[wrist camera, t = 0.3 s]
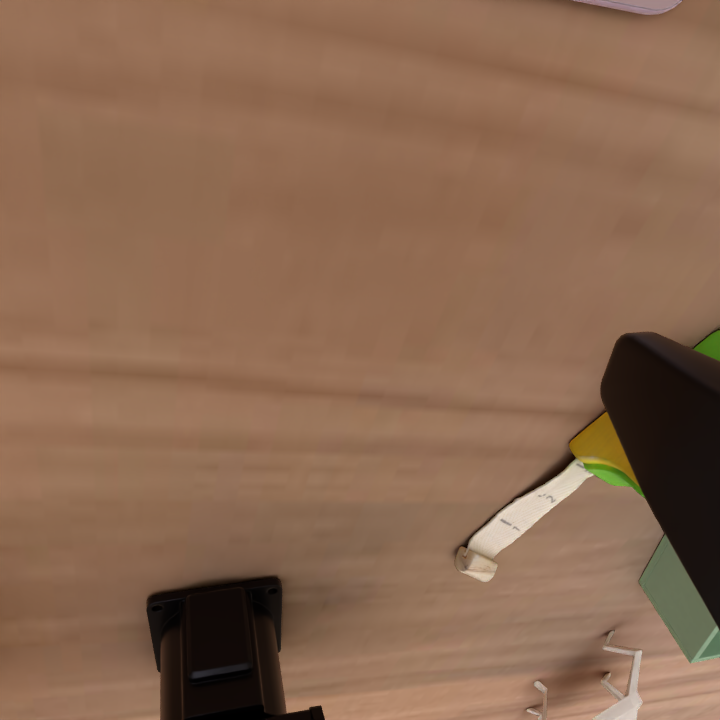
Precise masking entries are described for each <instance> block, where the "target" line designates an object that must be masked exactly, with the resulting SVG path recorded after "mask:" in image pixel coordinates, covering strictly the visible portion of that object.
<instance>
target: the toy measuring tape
mask: <svg viewBox="0 0 720 720" xmlns="http://www.w3.org/2000/svg"><path fill="white" fill-rule="evenodd" d="M693 350H696V351H698V352H700V353H702V354H705V355H707V356H709V357H712V358H714V359H716V360H718V361H720V330H718V331H716V332H714V333H712V334H711V335H709V336H708V337H707V338H706V339H705V340H704V341H702V342H701V343H700V344H698V345H697V346H696V347H695V348H694V349H693ZM569 447H570V450H571V452H572V453H573V454H574V456H575V457H576V459H575V460H574V461H573V462H571V463H570V464H569V465H568V466H567V467H566V468H565V470H564V471H563V472H561V473H560V474H559V475H557V476H556V477H554V478H552V479H551V480H550V481H548V482H547V483H545V484H544V485H542V486H540V487H538V488H536V489H535V490H533V491H531V492H529V493H527V494H525V495H524V496H522V497H520V498H515V499H514V500H515V501H514V502H512V503H511V504H509V505H507V506H506V507H505V508H504V509H502V510H501V511H500V512H498V513H497V514H496V516H495V517H493V518H492V519H491V520H490V521H489V522H488V523H487V524H486V525H485V526H483V527H482V528H481V529H479V531H478V532H477V533H475V534H474V535H473V536H472V538H471V539H470V540H469V544H468V548H464V547H460V548H459V550H458V553H457V555H456V558H455V567H456V569H457V570H458V571H460V572H462V573H464V574H466V575H469V576H471V577H473V578H475V579H478V580H480V581H482V582H487V581H489V580H490V579H491V578H492V577H493V576H494V573H495V571H496V569H497V566H498V565H497V563H495V562H494V561H492V560H493V558H494V557H495V556H496V554H497V553H499V552H500V551H501V550H502V549H503V548H506V547H507V546H508V545H509V544H511V543H513V542H514V541H515V540H516V539H517V538H519V537H520V536H521V535H522V534H523V533H525V532H526V531H527V530H528V529H529V528H531V527H532V526H533V524H534V523H535V522H537V521H538V520H539V519H540V518H541V517H542V516H543V515H544V514H545V513H547V512H548V511H550V510H551V509H552V508H553V507H554V506H556V505H557V504H558V503H559V502H560V501H562V500H563V499H565V498H566V497H567V496H568V495H570V494H571V493H573V492H574V491H575V490H576V489H577V488H578V487H579V486H580V485H581V484H582V483H583V482H584V481H585V480H586V479H587V478H589V477H591V476H593V475H596V476H597V477H599V478H600V479H602V480H604V481H605V482H607V483H609V484H611V485H614V486H629V487H633V488H634V489H635V490H636V491H637V492H638V493H639V494H640V495H641V496H643V497H644V495H643V492H642V490H641V488H640V486H639V484H638V482H637V480H636V477H635V475H634V473H633V470H632V468H631V466H630V464H629V461H628V459H627V457H626V454H625V452H624V450H623V447H622V445H621V443H620V441H619V438H618V436H617V434H616V431H615V429H614V427H613V424H612V422H611V420H610V418H609V415H608V413H607V411H606V412H605V413H604V414H603V415H602V416H600V417H599V418H598V419H597V420H595V421H594V422H593V423H592V424H591V425H589V426H588V427H587V428H586V429H585V430H583V431H582V432H581V433H580V434H579V435H577V436H576V437H575V438H574V439H573V440H572V441H571V442H570V444H569ZM644 498H645V497H644Z"/></svg>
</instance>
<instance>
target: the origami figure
mask: <svg viewBox="0 0 720 720" xmlns="http://www.w3.org/2000/svg"><path fill="white" fill-rule="evenodd" d="M614 631H615V630H614ZM614 631H611V632H610V633H609V635H608V637H607V639H606V641H605V643H604V646H603V650H607V651H612V652H616V653H621V654H625V655H630V656H634V657H633V661H632V666H631V671H630V675H629V680H628V684H627V689H626V693H625V696H624V695H623V694H622V693H621V692H619V691H618V690H617V689H616V688H614V687H613V686H612V685H611V684H610V683H608V682H607V680H608V679H609V678H610V677H611V673H607V674H605V676H604V677H603V679H602V680H601V685H602V686H603V687H604V688H605V689H606V690H607V691H609V692H610V693H611V694H612V695H613V696H614V697H615V698H616V699H617V700H618V701H619V702H617V703H616V704H614V705H613V706H611V707H610V708H608V709H607V710H605V711H603V712H602V713H600V714H599V715H597V716H596V717H594V718H593V719H592V720H637V711H638V709H639V707H640V706H641V704H642V703H643V702H642V700H641V698H640V696H639V694H638V692H637V685H638V677H639V669H640V662H641V656H642V650H640V649H634V648H627V647H621V646H614V645H608V643H609V641H610V639H611V638H612V636H613V634H614ZM534 686H535V687H536V688H538V689H539V690H540V691H541V692H543V693H544V701H543V710H542V712H540V711H538V710H535V709H533V708H529V709H527V711H528V712H530V713H532V714H535V715H537V716H540V717H539V719H538V720H546V716H547V692H548V689H547V688H546V687H545V686H544V685H543V684H542V683H541V682H539V681H536V682H534Z"/></svg>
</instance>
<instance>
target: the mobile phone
mask: <svg viewBox="0 0 720 720" xmlns="http://www.w3.org/2000/svg"><path fill="white" fill-rule="evenodd" d="M572 1H577V2H582V3H587V4H592V5H597V6H603V7H608V8H613V9H618V10H623V11H628V12H633V13H638V14H644V15H656V14H661V13H664V12H667V11H669V10H671V9H672V8H674V7H675V6H677V5H678V4H679V3H680V2H681V1H682V0H572Z"/></svg>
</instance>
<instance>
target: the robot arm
mask: <svg viewBox="0 0 720 720" xmlns="http://www.w3.org/2000/svg"><path fill="white" fill-rule="evenodd" d="M600 389H601V398H602V401H603V404H604V406H605V408H606V411H607V413H608V415H609V418H610V420H611V422H612V424H613V427H614V429H615V431H616V434H617V436H618V438H619V441H620V443H621V445H622V447H623V450H624V452H625V454H626V457H627V459H628V461H629V464H630V466H631V468H632V470H633V473H634V475H635V477H636V480H637V482H638V484H639V486H640V488H641V490H642V492H643V495H644V497H645V499H646V500H647V502H648V504H649V506H650V508H651V510H652V512H653V514H654V515H655V517H656V519H657V521H658V522H659V524H660V526H661V528H662V529H663V531H664V533H665V535H666V537H667V538H668V540H669V542H670V544H671V545H672V547H673V549H674V551H675V552H676V554H677V556H678V558H679V560H680V561H681V563H682V565H683V567H684V568H685V570H686V572H687V574H688V575H689V577H690V579H691V581H692V583H693V584H694V586H695V588H696V590H697V591H698V593H699V595H700V597H701V598H702V600H703V602H704V604H705V606H706V607H707V609H708V611H709V613H710V614H711V616H712V618H713V620H714V621H715V623H716V625H717V627H718V629H719V630H720V361H718V360H716V359H714V358H712V357H709V356H707V355H705V354H702V353H700V352H698V351H696V350H693V349H691V348H689V347H687V346H684V345H682V344H680V343H677V342H675V341H673V340H671V339H668V338H666V337H664V336H661V335H659V334H657V333H654V332H638V333H626V334H624V335H622V336H621V337H620V338H619V339H618V340H617V341H616V343H615V346H614V349H613V351H612V354H611V357H610V359H609V362H608V365H607V368H606V370H605V373H604V376H603V378H602V382H601V388H600ZM147 615H148V621H149V626H150V631H151V637H152V642H153V648H154V653H155V659H156V664H157V670H158V672H160V673H161V690H160V720H325V718H324V715H323V711H322V707H321V705H320V706H315V707H310V708H309V710H304V711H298V712H293V713H287V712H286V705H285V698H284V691H283V684H282V677H281V670H280V662H279V655H278V653H279V652H280V650H281V618H282V585H281V581H280V580H279V579H275V578H271V579H264V580H257V581H251V582H244V583H237V584H230V585H223V586H216V587H209V588H202V589H195V590H188V591H181V592H174V593H168V594H161V595H155V596H152V597H150V598H149V599H148V600H147Z"/></svg>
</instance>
